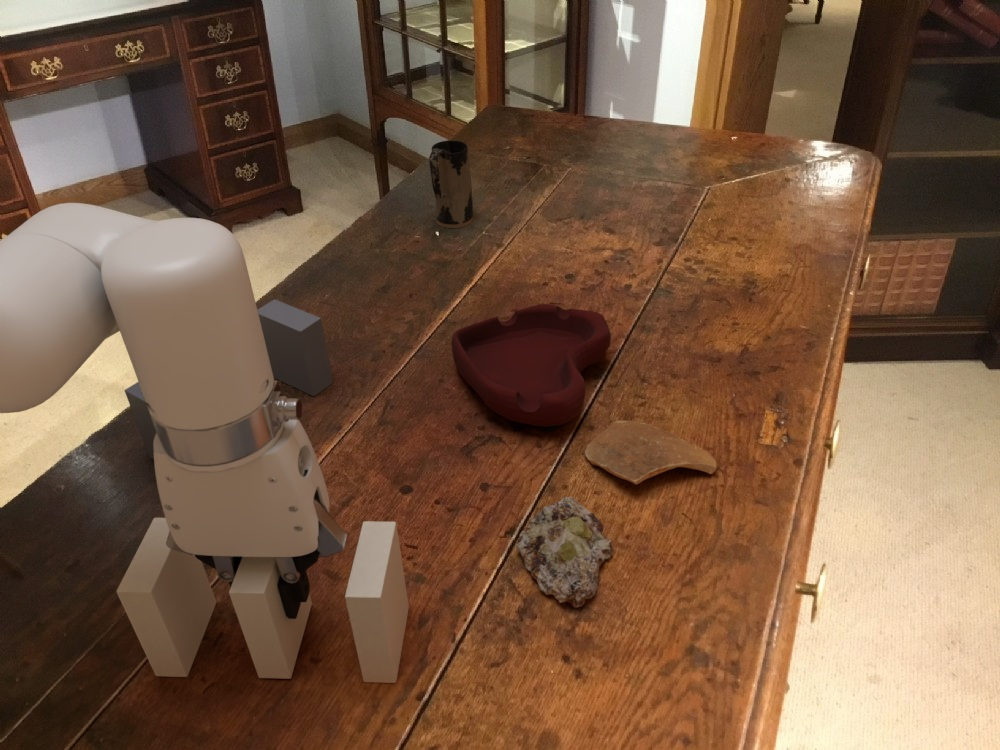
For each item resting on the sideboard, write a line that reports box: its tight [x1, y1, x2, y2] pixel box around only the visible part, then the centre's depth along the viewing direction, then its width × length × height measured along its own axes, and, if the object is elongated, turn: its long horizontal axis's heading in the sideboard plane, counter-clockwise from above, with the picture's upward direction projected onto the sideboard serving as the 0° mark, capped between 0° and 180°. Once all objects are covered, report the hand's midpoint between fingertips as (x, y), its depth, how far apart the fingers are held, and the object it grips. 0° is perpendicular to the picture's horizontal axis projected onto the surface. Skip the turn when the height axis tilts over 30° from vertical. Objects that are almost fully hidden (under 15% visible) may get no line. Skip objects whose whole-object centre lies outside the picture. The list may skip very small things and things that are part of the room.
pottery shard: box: [584, 420, 717, 485], centre depth 81 cm, size 10×9×2 cm
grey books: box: [124, 298, 334, 460], centre depth 87 cm, size 7×19×8 cm, turn 145°
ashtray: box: [451, 303, 612, 433], centre depth 91 cm, size 18×16×5 cm
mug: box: [428, 139, 474, 229], centre depth 120 cm, size 8×6×12 cm
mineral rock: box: [515, 496, 614, 609], centre depth 72 cm, size 11×4×8 cm
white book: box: [228, 557, 313, 680], centre depth 64 cm, size 7×2×10 cm, turn 177°
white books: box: [115, 517, 410, 684], centre depth 64 cm, size 18×7×10 cm, turn 87°
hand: (275, 601), depth 64 cm, fingers closed on white book, 2 cm apart
